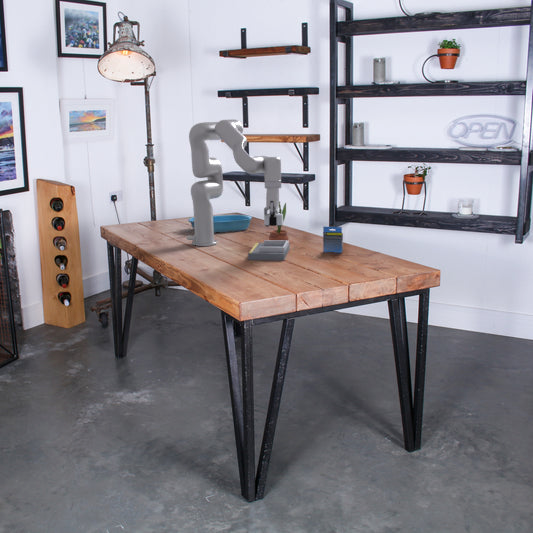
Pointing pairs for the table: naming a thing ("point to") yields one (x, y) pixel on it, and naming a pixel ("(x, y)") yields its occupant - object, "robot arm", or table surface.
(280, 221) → the lidded storage box
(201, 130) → the robot arm
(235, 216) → the casserole dish
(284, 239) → the potted flower
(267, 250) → the dock
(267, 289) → the table surface
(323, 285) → the table surface
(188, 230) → the table surface
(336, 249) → the label tape cartridge
